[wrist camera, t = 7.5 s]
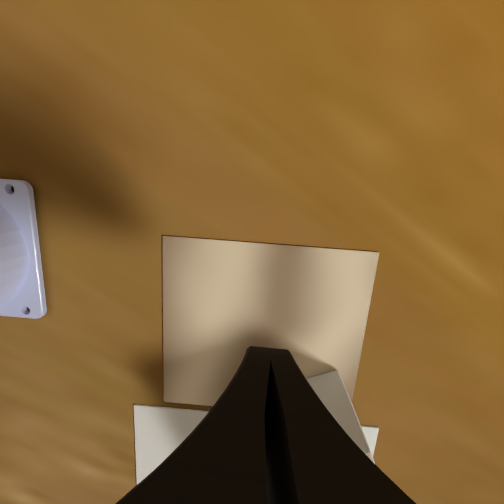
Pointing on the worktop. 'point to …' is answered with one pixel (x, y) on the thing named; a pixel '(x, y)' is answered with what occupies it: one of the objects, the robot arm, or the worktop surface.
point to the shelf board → (259, 310)
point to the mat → (177, 434)
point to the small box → (340, 406)
